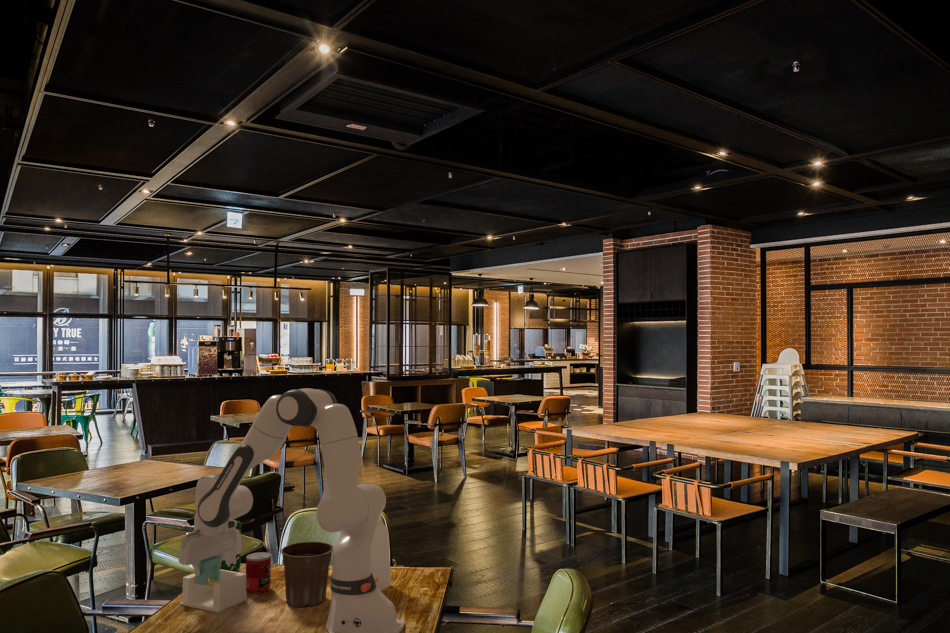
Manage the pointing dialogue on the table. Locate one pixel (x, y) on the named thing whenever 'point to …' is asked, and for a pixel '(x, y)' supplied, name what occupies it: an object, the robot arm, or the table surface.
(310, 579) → the plant pot
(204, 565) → the green slotted block
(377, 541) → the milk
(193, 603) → the shelf
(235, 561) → the milk carton
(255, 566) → the canned food
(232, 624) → the table surface
